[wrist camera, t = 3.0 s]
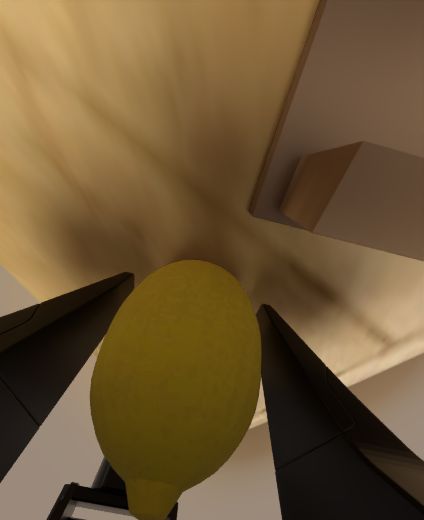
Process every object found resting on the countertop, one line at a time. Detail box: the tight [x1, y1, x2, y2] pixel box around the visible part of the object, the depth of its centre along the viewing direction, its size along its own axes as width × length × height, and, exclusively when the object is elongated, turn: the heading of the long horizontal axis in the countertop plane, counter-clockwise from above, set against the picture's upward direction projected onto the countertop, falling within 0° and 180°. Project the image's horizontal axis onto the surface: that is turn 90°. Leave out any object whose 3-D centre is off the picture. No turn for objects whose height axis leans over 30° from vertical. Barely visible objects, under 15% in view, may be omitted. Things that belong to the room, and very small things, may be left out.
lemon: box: [90, 260, 261, 520], centre depth 6 cm, size 6×6×8 cm
